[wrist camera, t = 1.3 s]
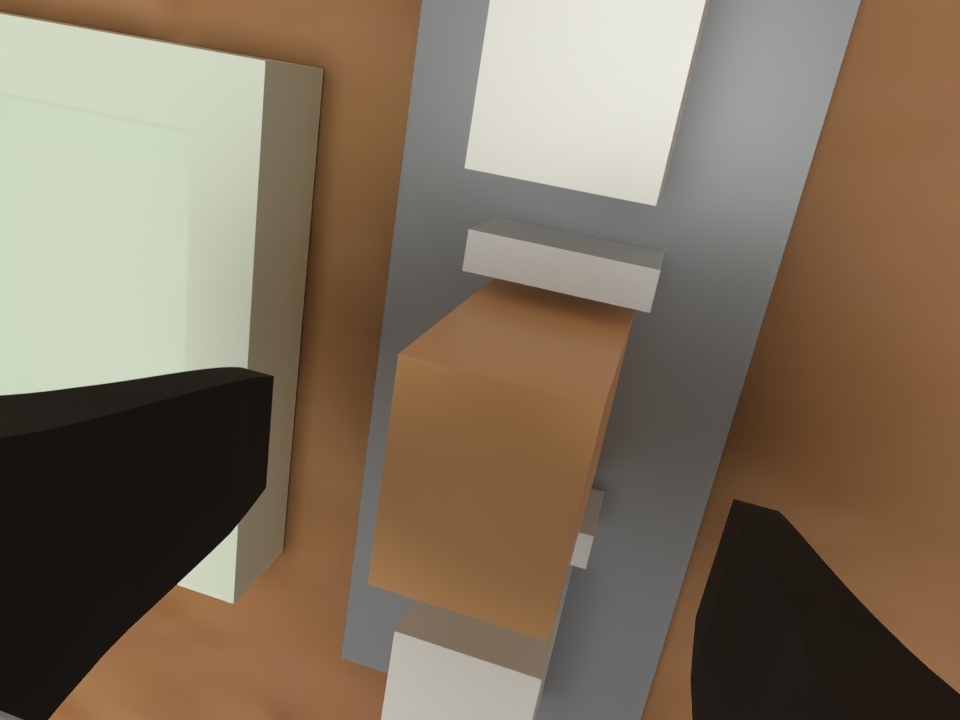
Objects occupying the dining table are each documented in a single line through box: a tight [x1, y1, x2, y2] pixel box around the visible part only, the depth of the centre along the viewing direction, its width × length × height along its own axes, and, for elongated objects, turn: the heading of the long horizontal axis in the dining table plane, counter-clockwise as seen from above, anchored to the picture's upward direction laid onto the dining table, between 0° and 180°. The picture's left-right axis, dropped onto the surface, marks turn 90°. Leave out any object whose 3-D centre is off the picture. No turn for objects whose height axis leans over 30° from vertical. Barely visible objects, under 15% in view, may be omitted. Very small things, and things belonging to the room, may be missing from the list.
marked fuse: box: [368, 278, 635, 642], centre depth 14 cm, size 4×3×6 cm
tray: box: [0, 11, 324, 604], centre depth 19 cm, size 13×11×2 cm
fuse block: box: [341, 0, 861, 720], centre depth 15 cm, size 19×8×5 cm, turn 170°
